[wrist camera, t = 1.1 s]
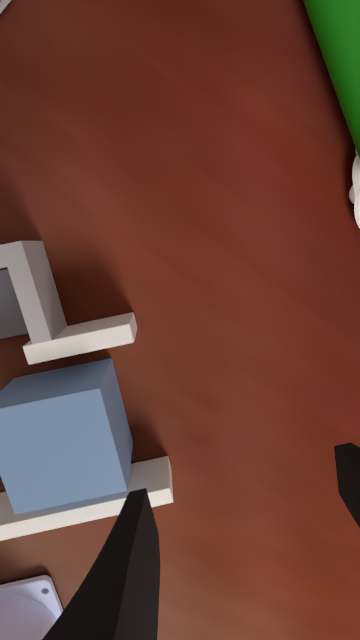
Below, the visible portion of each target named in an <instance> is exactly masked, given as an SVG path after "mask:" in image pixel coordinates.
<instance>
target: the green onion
mask: <svg viewBox="0 0 360 640" xmlns="http://www.w3.org/2000/svg"><path fill="white" fill-rule="evenodd" d="M303 2H304V5H305V8H306V11H307V14H308V16H309V19H310V22H311V25H312V28H313V30H314V33H315V36H316V39H317V42H318V45H319V47H320V50H321V53H322V56H323V59H324V61H325V64H326V67H327V70H328V73H329V75H330V78H331V81H332V84H333V87H334V89H335V92H336V95H337V98H338V100H339V103H340V106H341V109H342V112H343V114H344V117H345V120H346V123H347V125H348V128H349V131H350V134H351V136H352V139H353V142H354V145H355V151H356V157H355V159H354V162H353V168H352V180H353V186H352V187H351V189H350V192H349V198H350V200H351V202H352V203H353V204H354V214H355V219H356V222H357V225H358V227H359V228H360V0H303Z"/></svg>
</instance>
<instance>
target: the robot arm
mask: <svg viewBox="0 0 360 640" xmlns="http://www.w3.org/2000/svg"><path fill="white" fill-rule="evenodd" d="M334 450H335V460H336V469H337V479H338V488H339V494H340V496H341V497H342V499H343V501H344V503H345V504H346V506H347V508H348V510H349V511H350V513H351V515H352V516H353V518H354V520H355V521H356V523H357V524H358V526H359V527H360V447H358V446H356V445H354V444H352V443H346V444H342V445H337V446H334ZM159 584H160V551H159V535H158V530H157V526H156V523H155V519H154V515H153V511H152V508H151V504H150V500H149V496H148V493H147V489H146V488H144V489H139V490H135V491H130V492H129V494H128V495H127V497H126V500H125V502H124V504H123V507H122V509H121V511H120V513H119V516H118V518H117V520H116V522H115V524H114V526H113V528H112V530H111V532H110V534H109V536H108V538H107V540H106V542H105V544H104V546H103V548H102V550H101V552H100V553H99V555H98V557H97V559H96V560H95V562H94V564H93V566H92V567H91V569H90V571H89V573H88V574H87V576H86V578H85V579H84V581H83V582H82V584H81V586H80V587H79V589H78V590H77V592H76V593H75V595H74V596H73V598H72V599H71V601H70V602H69V604H68V605H67V606H66V608H65V609H64V611H63V609H62V606H61V603H60V601H59V598H58V595H57V593H56V590H55V587H54V585H53V582H52V579H51V578H50V577H49V576H47V575H42V576H38V577H33V578H29V579H24V580H20V581H15V582H11V583H6V584H2V585H0V640H157V629H158V607H159Z"/></svg>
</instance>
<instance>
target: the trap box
mask: <svg viewBox="0 0 360 640" xmlns="http://www.w3.org/2000/svg"><path fill="white" fill-rule="evenodd" d="M6 267H7V268H8V269H5V270H0V339H3V338H8V337H12V336H17V335H22V334H27V333H29V336H30V339H31V340H30V341H29V342H28V343H27V344H25V345H24V346H23V350H24V353H25V356H26V359H27V362H28V365H30V364H35V363H40V362H44V361H49V360H54V359H58V358H63V357H68V356H73V355H77V354H82V353H87V352H91V351H96V350H101V349H105V348H110V347H115V346H119V345H124V344H129V343H134V340H135V336H136V332H137V324H136V320H135V316H134V312H131V313H126V314H122V315H117V316H112V317H107V318H103V319H98V320H93V321H88V322H84V323H79V324H74V325H70V326H67V323H66V319H65V316H64V313H63V309H62V306H61V302H60V299H59V296H58V292H57V289H56V285H55V282H54V278H53V275H52V272H51V268H50V265H49V261H48V258H47V255H46V251H45V248H44V244H43V241H17V242H12V243H8V244H3V245H0V269H1V268H6ZM144 488H146V489H147V493H148V496H149V500H150V504H151V507H155V506H159V505H163V504H168V503H172V502H173V489H172V473H171V466H170V461H169V457H168V456H165V457H160V458H156V459H151V460H147V461H142V462H137V463H133V464H131V465H130V473H129V481H128V489H127V491H125V492H120V493H115V494H111V495H106V496H101V497H96V498H92V499H87V500H82V501H77V502H73V503H68V504H63V505H58V506H54V507H49V508H44V509H39V510H35V511H30V512H25V513H20V514H16V515H15V514H14V511H13V508H12V505H11V503H10V500H9V497H8V495H7V492H6V491H5V492H1V493H0V541H2V540H6V539H11V538H15V537H20V536H24V535H29V534H33V533H38V532H42V531H47V530H51V529H56V528H60V527H65V526H69V525H74V524H78V523H83V522H87V521H92V520H96V519H101V518H105V517H110V516H114V515H119V513H120V511H121V509H122V507H123V504H124V502H125V500H126V497H127V495H128V494H129V492H130V491H135V490H139V489H144Z"/></svg>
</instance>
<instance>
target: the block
mask: <svg viewBox="0 0 360 640" xmlns="http://www.w3.org/2000/svg"><path fill="white" fill-rule="evenodd" d="M132 448H133V440H132V436H131V432H130V428H129V424H128V420H127V416H126V413H125V409H124V405H123V401H122V397H121V393H120V389H119V385H118V381H117V377H116V373H115V369H114V365H113V361H112V358H109V359H104V360H99V361H94V362H89V363H84V364H79V365H75V366H70V367H65V368H60V369H55V370H50V371H45V372H40V373H35V374H30V375H25V376H20V377H15V378H14V379H13V380H12V381H11V382H10V383H9V384H8V385H6V386H5V387H4V388H3V389H2V390H1V391H0V476H1V479H2V481H3V484H4V487H5V489H6V492H7V495H8V497H9V500H10V503H11V505H12V508H13V511H14V514H15V515H16V514H20V513H25V512H30V511H35V510H39V509H44V508H49V507H54V506H58V505H63V504H68V503H73V502H77V501H82V500H87V499H92V498H96V497H101V496H106V495H111V494H115V493H120V492H125V491H127V489H128V481H129V473H130V465H131V457H132Z"/></svg>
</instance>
